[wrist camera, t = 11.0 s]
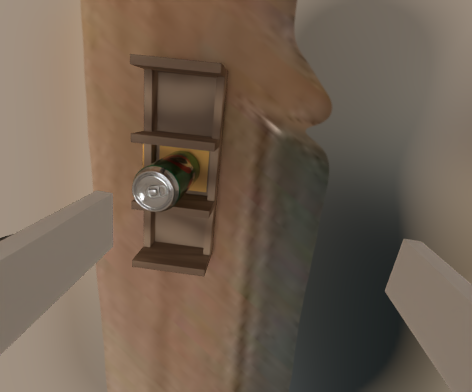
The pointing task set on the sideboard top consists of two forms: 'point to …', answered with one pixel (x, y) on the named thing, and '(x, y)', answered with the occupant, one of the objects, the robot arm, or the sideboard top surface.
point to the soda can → (165, 181)
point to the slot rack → (182, 139)
